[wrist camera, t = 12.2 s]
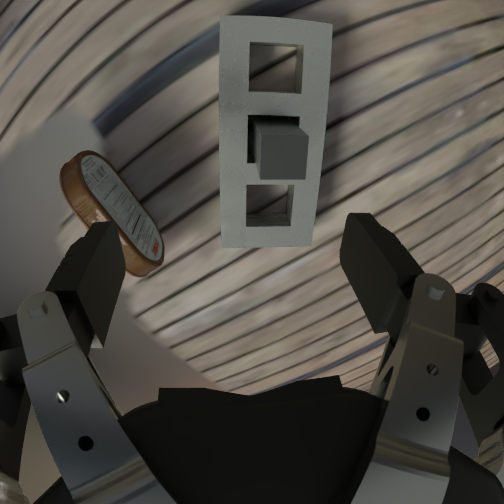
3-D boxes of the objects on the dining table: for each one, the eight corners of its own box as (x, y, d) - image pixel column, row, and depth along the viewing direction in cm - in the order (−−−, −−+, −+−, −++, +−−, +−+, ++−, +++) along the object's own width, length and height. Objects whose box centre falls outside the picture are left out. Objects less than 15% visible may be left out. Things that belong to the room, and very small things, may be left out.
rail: (221, 233, 36) (221, 247, 34) (220, 20, 23) (220, 15, 20) (305, 232, 37) (310, 246, 34) (323, 27, 23) (332, 24, 21)
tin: (79, 153, 29) (42, 181, 22) (98, 137, 28) (63, 161, 21) (154, 249, 37) (140, 295, 30) (174, 237, 36) (163, 283, 29)
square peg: (251, 149, 31) (260, 179, 23) (251, 116, 29) (261, 134, 21) (285, 149, 31) (305, 179, 23) (287, 116, 29) (309, 136, 21)
